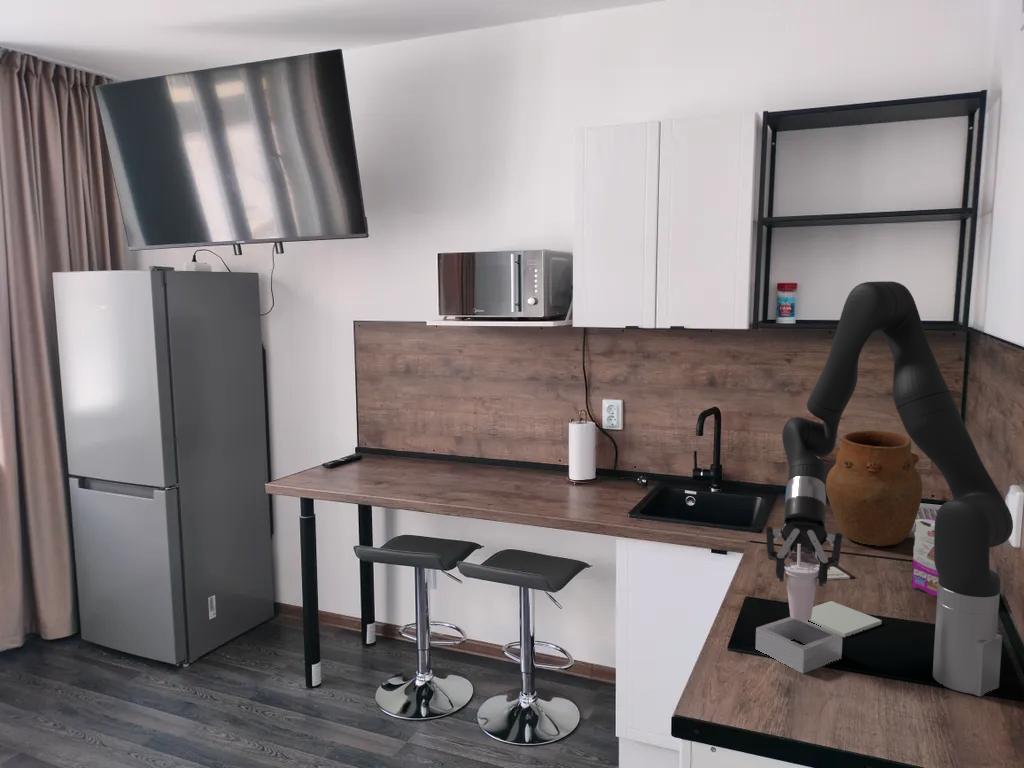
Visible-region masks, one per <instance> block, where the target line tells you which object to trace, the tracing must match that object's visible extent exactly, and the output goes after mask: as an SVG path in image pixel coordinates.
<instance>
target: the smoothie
mask: <svg viewBox="0 0 1024 768" xmlns="http://www.w3.org/2000/svg"><path fill="white" fill-rule="evenodd" d="M796 553H797V562H793V561H790V562H787V563H785V565H784V574H785V581H786V591H787V598H788V608H789V615H790V616H789V617H791V618H793V619H795V620H800V621H808V620H810V619H811V616H812V610H813V607H814V602H815V597H816V589H817V583H818V579H817V578H818V576H819V567H817V566H816V565H813V564H810V563H805V562H800V557H801V553H802V552H801V544H798V550H797V552H796Z"/></svg>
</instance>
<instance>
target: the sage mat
mask: <svg viewBox="0 0 1024 768" xmlns="http://www.w3.org/2000/svg"><path fill="white" fill-rule="evenodd" d="M809 621H811V622H813V623H815V624H817V625H819V626H821V627H823V628H825V629H827V630H830V631H832V632H834V633H837V634H839V635H842V638H847V637H850V636H852V634H853V635H856V634H857V633H860V632H864V631H866V630H870V629H872V628H875V627H877V626H880V625H882V619H879V618H877V617H874V616H872V615H868V614H865V613H864V612H861V611H858V610H856V609H853V608H851V607H847V606H845V605H843V604H840V603H838V602H835V601H832V600H830V601H827V602H824V603H821V604H818V605H815V606H814V605H813V610H812V616H811V619H810V620H809ZM863 630H864V631H863ZM846 636H847V637H846Z"/></svg>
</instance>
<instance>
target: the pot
mask: <svg viewBox="0 0 1024 768" xmlns="http://www.w3.org/2000/svg"><path fill="white" fill-rule="evenodd" d="M832 453H833V456H834V457H835V458H836V460H835V461H836V462H835V464H834V465H833V466H832V468H830V470H829V472H828V474H827V476H826V478H825V491H826V497H827V498H828V502H829V504H830V508H831V510H832V513H833V516H834V520H835V521H836V522H835V523H836V525H837V528H838V529H839V530H840V532H841V534H842V535H844V537H845V538H847V539H849V540H851V541H853V542H855V543H857V542H859V543H858V544H860V543H863V544H869V545H868V546H870V545H877V546H876V547H888V546H894V545H898V544H900V543H901V542H903V541H904V540H905V539H907V537H909V535H910V533H911V531H912V529H913V528H914V526H915V520H917V519H916V518H917V517H918V513H919V510H920V506H921V502H922V496H923V481H922V477H921V475H920V473H919V471H918V470H917V469H916V467H915V466H916V464H918V463H919V461H920V457H919V455H918V454H916V453H914V452H912V439H911V438H910V437H908V436H906V435H903V434H900V433H897V432H892V431H891V432H890V431H884V430H856V431H852V432H848V433H845V434H843V435H842V436H841V445H840V447H836V448H834V449H833V451H832ZM863 544H862V545H863Z"/></svg>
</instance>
